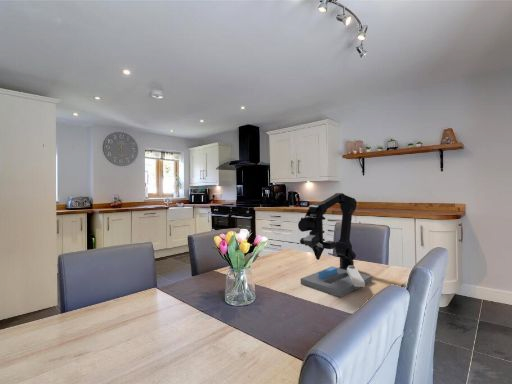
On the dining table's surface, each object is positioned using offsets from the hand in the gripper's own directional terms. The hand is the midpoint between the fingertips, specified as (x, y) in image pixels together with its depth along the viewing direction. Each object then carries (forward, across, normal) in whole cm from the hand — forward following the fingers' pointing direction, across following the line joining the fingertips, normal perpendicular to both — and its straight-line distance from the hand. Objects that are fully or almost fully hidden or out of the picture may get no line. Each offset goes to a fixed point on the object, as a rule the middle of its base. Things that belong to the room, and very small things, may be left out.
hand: (317, 259), depth 138 cm
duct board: (+9, +10, 0) cm, 14 cm away
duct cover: (+6, +18, +5) cm, 19 cm away
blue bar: (+6, +6, 0) cm, 9 cm away
